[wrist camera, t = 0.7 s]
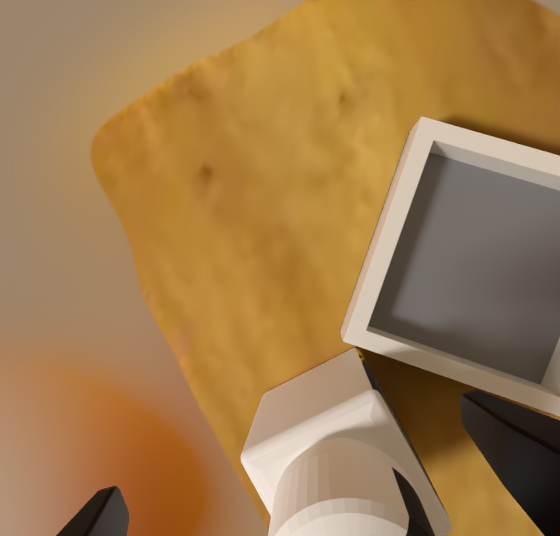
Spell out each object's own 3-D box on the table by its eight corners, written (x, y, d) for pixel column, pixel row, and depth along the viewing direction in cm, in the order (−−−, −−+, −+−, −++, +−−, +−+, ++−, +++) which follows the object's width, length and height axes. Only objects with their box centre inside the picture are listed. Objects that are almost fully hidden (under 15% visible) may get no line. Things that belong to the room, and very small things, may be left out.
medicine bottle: (411, 441, 22) (530, 678, 10) (312, 487, 22) (310, 757, 10) (357, 344, 22) (408, 459, 10) (261, 392, 22) (199, 554, 10)
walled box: (628, 196, 19) (673, 188, 17) (544, 401, 21) (576, 422, 18) (408, 132, 21) (421, 116, 18) (339, 330, 22) (343, 341, 19)
